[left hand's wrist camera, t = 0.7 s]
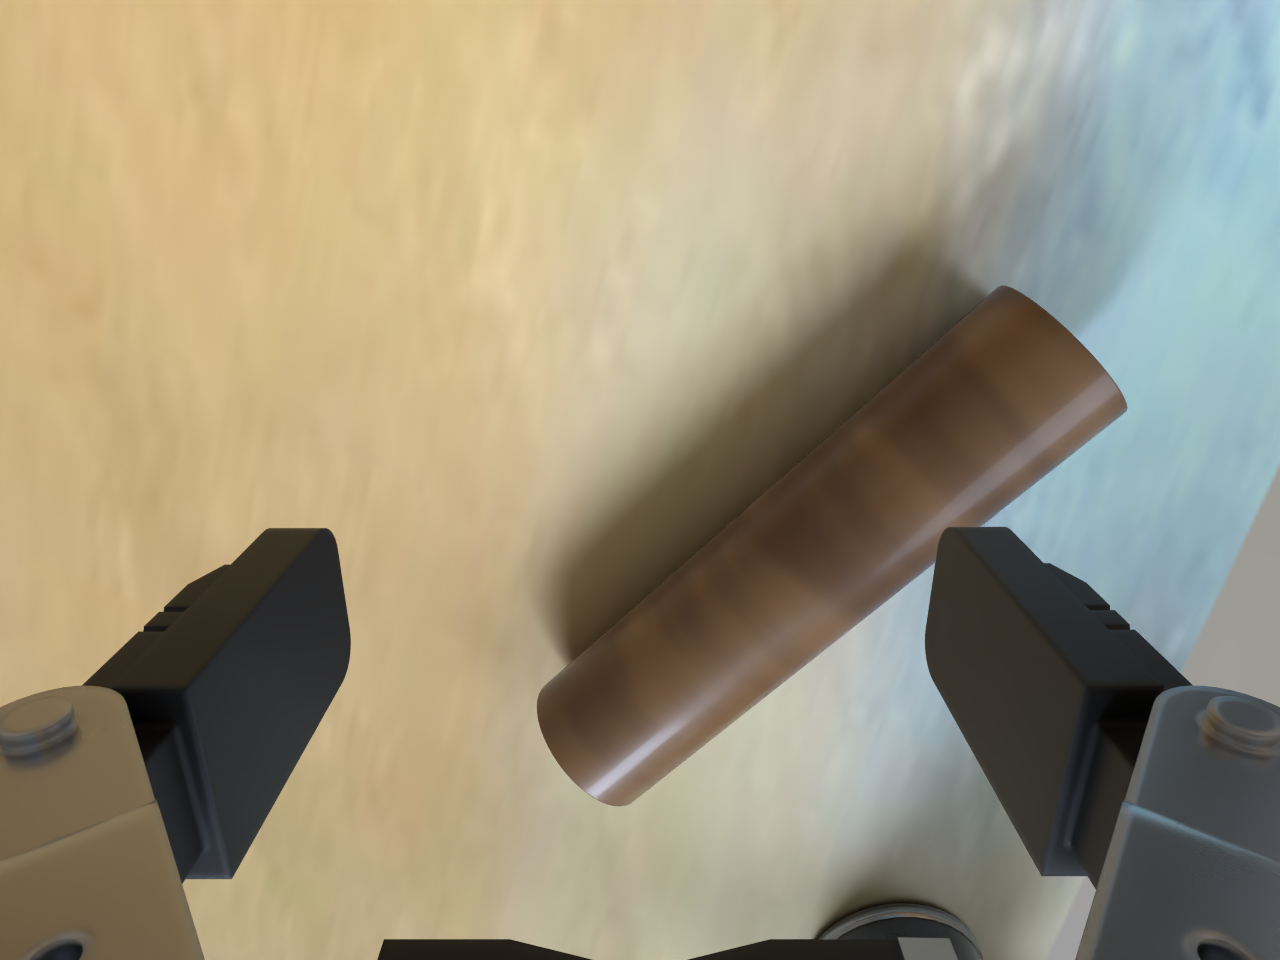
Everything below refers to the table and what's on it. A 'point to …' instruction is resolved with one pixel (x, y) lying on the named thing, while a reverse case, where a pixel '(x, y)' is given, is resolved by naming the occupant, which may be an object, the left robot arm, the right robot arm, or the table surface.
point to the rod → (828, 544)
